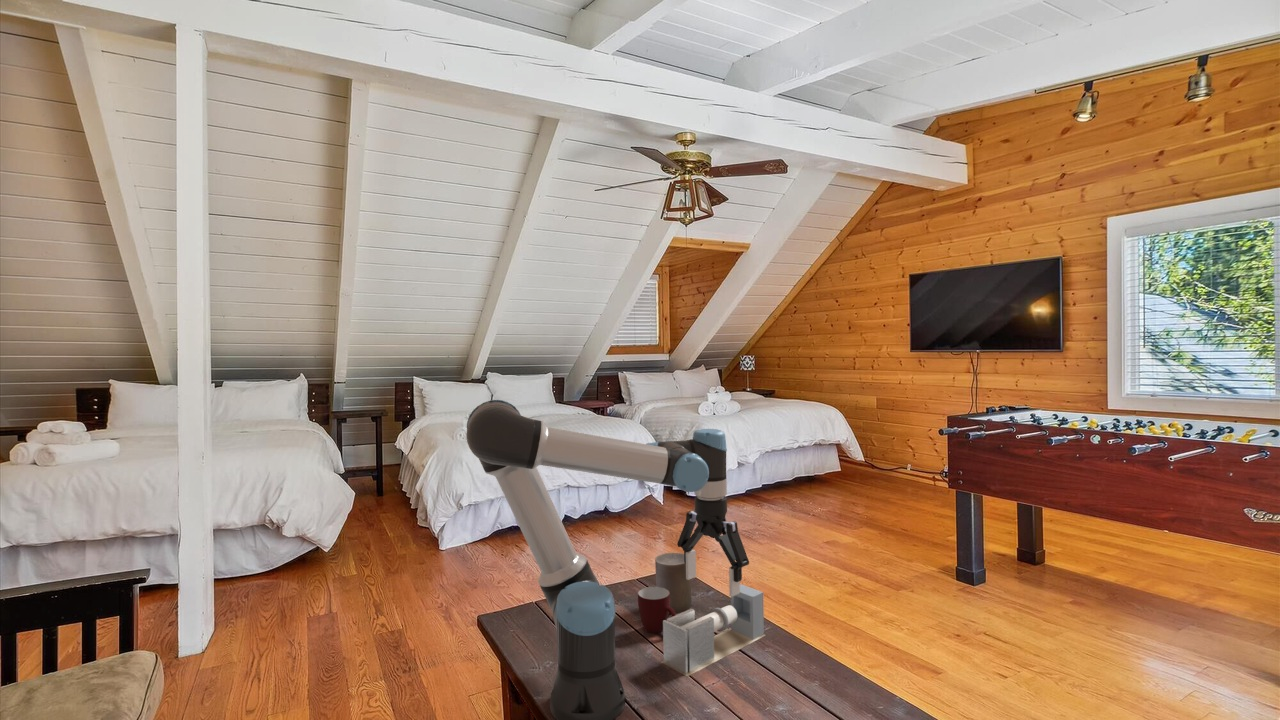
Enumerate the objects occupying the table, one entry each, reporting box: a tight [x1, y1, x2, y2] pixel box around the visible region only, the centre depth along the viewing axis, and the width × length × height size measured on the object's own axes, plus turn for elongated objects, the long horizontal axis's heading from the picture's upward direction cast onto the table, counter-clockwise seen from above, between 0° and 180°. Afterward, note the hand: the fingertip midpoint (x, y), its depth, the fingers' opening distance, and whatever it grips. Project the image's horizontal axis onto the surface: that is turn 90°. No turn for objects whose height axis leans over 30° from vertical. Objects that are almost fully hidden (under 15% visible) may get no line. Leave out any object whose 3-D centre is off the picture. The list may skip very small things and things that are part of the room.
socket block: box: [730, 583, 765, 640], centre depth 162 cm, size 4×7×10 cm, turn 41°
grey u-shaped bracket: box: [662, 608, 715, 676], centre depth 148 cm, size 9×7×10 cm
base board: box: [660, 627, 766, 677], centre depth 154 cm, size 28×8×1 cm, turn 131°
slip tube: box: [681, 604, 737, 633], centre depth 152 cm, size 18×5×5 cm, turn 131°
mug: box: [637, 586, 677, 634], centre depth 164 cm, size 11×8×10 cm
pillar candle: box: [654, 552, 693, 616], centre depth 178 cm, size 10×10×15 cm
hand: (712, 586), depth 153 cm, fingers open, 13 cm apart
